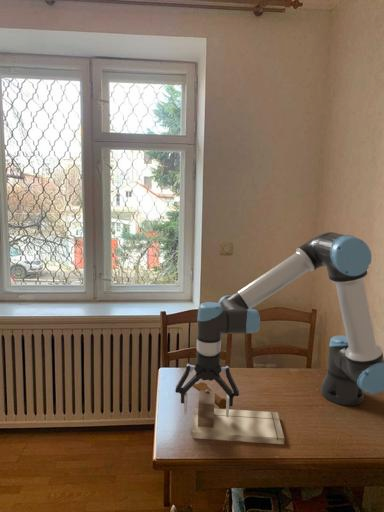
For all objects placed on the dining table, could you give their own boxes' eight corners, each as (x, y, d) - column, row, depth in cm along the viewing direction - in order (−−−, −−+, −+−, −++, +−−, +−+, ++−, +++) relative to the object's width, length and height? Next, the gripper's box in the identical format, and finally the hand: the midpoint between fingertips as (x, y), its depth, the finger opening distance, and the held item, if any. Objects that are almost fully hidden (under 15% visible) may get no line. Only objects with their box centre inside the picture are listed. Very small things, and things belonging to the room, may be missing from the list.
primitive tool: (191, 386, 151) (191, 378, 150) (203, 383, 154) (203, 375, 153) (219, 410, 135) (219, 401, 134) (231, 406, 137) (232, 397, 137)
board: (277, 417, 130) (277, 412, 130) (283, 444, 117) (284, 438, 116) (194, 412, 132) (195, 407, 132) (192, 438, 118) (192, 432, 118)
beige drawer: (213, 413, 128) (214, 389, 127) (213, 427, 121) (214, 402, 119) (199, 412, 129) (199, 388, 127) (197, 426, 121) (198, 401, 119)
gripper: (247, 348, 124) (244, 409, 127) (170, 344, 125) (169, 404, 129) (249, 358, 116) (245, 422, 120) (167, 354, 118) (166, 417, 121)
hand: (206, 413), depth 124 cm, fingers open, 13 cm apart
